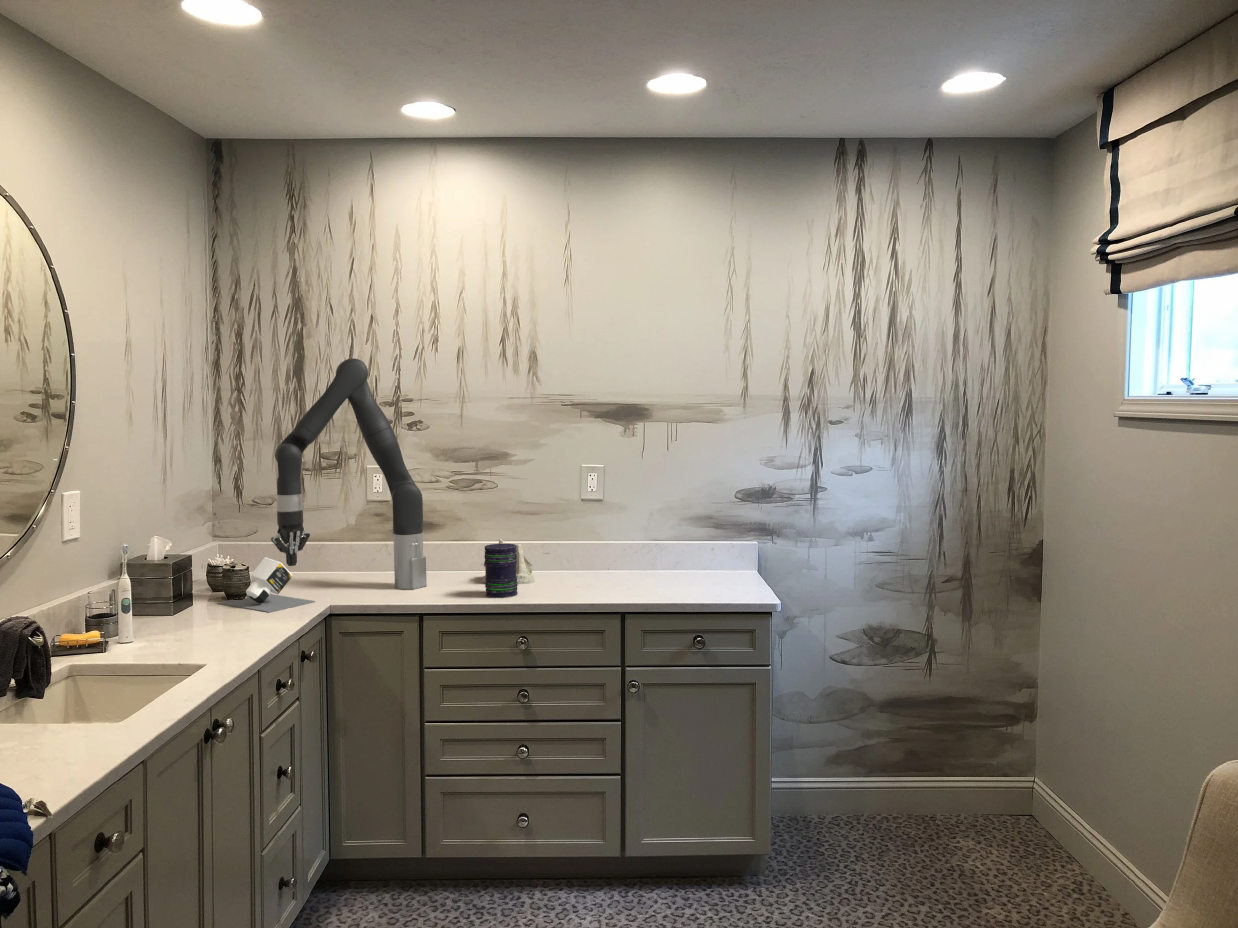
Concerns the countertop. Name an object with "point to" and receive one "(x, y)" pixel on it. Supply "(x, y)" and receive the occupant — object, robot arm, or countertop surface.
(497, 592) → the storage jar
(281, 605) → the rubber mat
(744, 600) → the countertop surface
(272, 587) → the medicine bottle
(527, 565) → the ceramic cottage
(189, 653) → the countertop surface
